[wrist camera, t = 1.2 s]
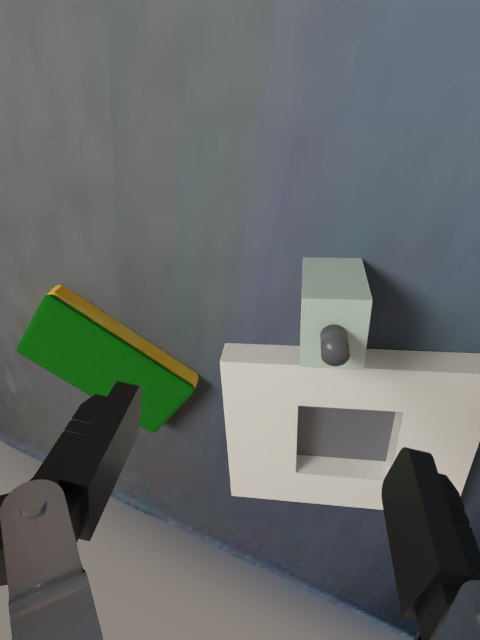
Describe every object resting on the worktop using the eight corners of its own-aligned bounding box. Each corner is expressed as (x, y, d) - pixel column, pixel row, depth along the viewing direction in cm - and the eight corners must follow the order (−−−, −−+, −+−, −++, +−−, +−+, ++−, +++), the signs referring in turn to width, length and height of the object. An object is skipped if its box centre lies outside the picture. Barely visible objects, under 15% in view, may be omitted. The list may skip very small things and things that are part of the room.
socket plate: (490, 353, 32) (507, 382, 29) (445, 492, 40) (456, 524, 37) (225, 342, 34) (217, 368, 32) (235, 474, 43) (230, 503, 40)
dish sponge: (161, 416, 41) (153, 435, 39) (30, 335, 38) (13, 351, 35) (201, 372, 37) (195, 391, 35) (60, 280, 34) (45, 294, 32)
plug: (361, 257, 29) (377, 318, 22) (354, 320, 32) (367, 390, 25) (302, 257, 30) (300, 315, 23) (300, 318, 32) (298, 387, 26)
